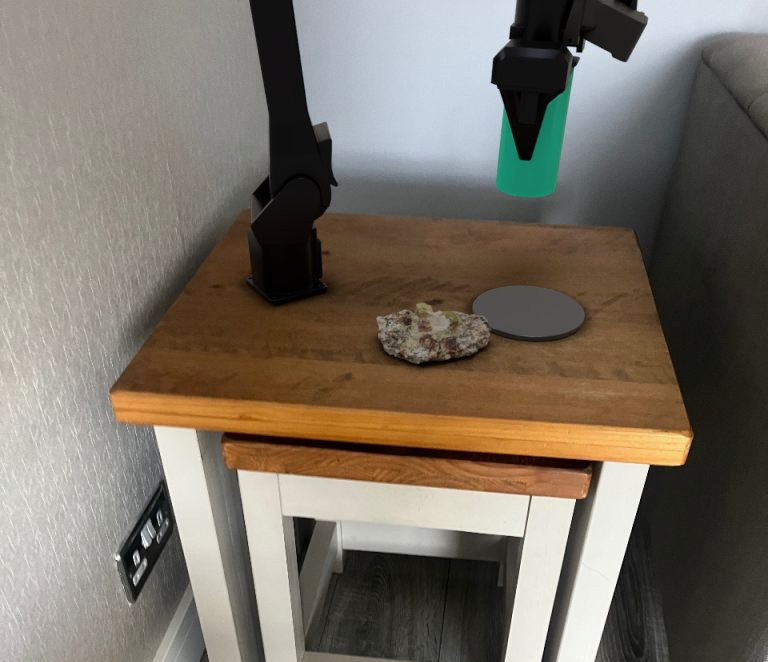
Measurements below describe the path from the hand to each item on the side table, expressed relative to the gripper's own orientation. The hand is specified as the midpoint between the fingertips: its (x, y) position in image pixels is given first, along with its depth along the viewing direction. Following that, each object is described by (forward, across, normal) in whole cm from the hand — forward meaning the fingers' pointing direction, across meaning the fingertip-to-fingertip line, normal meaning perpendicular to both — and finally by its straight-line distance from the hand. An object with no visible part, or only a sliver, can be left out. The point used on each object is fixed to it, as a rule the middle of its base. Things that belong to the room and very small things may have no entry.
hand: (530, 149), depth 75 cm
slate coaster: (+13, -8, -3) cm, 16 cm away
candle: (+4, 0, 0) cm, 4 cm away
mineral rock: (+13, -17, +5) cm, 22 cm away
